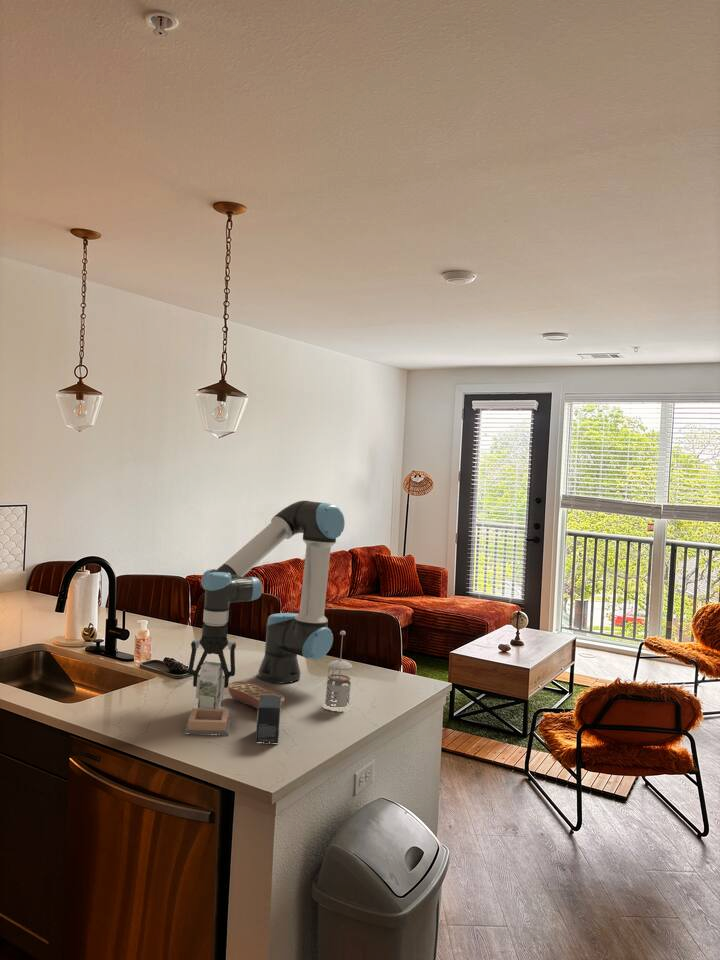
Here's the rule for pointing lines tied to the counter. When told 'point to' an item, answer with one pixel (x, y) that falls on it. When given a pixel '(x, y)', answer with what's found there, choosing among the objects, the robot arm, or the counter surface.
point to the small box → (268, 719)
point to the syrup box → (210, 685)
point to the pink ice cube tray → (250, 693)
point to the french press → (338, 682)
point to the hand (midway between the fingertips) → (209, 697)
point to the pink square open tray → (208, 721)
